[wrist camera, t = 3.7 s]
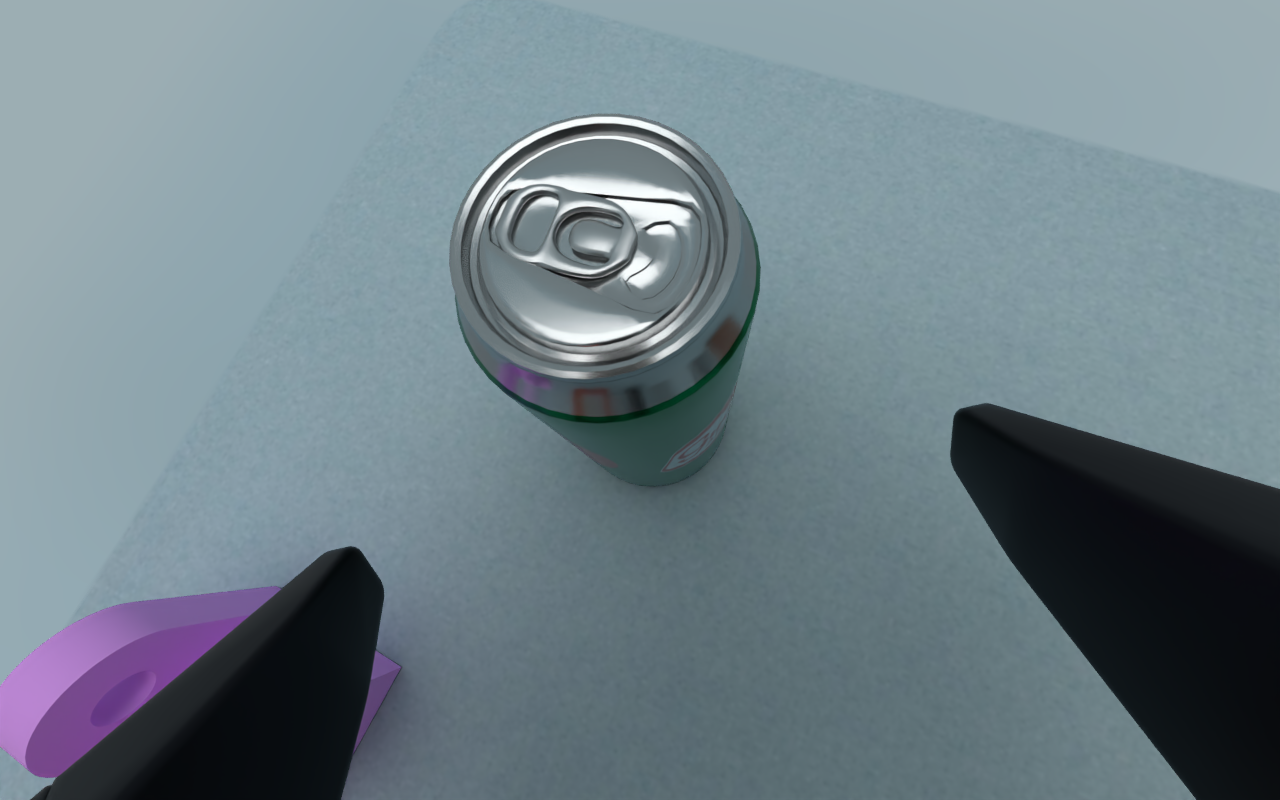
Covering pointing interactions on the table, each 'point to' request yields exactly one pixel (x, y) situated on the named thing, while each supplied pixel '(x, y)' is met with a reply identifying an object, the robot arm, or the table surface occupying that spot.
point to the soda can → (610, 289)
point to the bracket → (123, 673)
